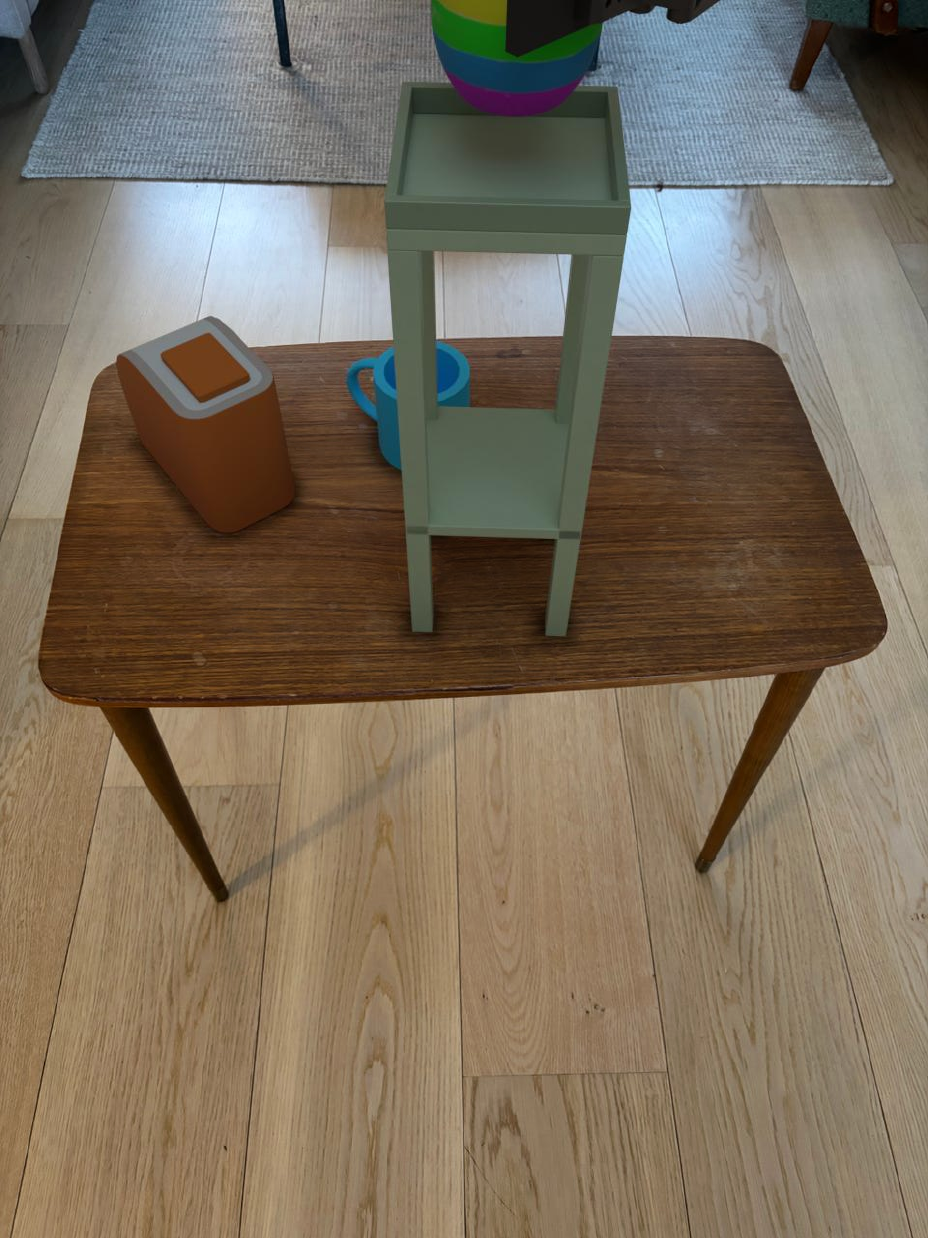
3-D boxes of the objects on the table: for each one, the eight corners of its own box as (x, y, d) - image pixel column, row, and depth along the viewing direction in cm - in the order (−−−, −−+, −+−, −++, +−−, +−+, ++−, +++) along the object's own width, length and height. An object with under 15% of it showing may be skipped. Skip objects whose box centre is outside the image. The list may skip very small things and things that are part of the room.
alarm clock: (307, 496, 85) (285, 372, 74) (220, 541, 82) (184, 419, 71) (223, 403, 92) (191, 278, 81) (140, 442, 89) (96, 316, 78)
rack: (562, 521, 84) (617, 85, 55) (565, 636, 77) (631, 206, 48) (421, 517, 84) (402, 80, 55) (412, 631, 77) (383, 200, 48)
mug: (485, 430, 90) (487, 359, 84) (440, 486, 86) (438, 416, 80) (375, 386, 94) (368, 314, 87) (326, 439, 90) (316, 367, 83)
